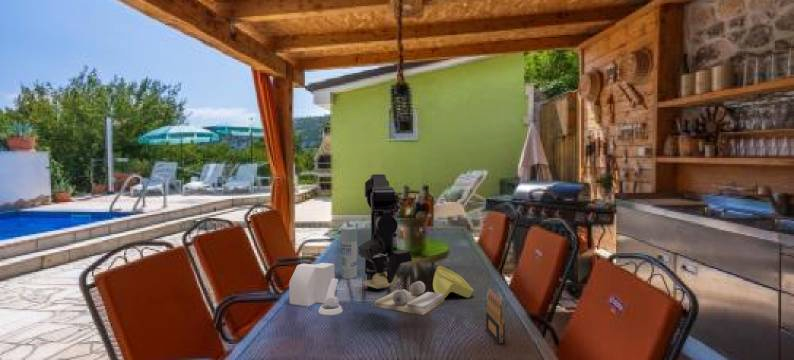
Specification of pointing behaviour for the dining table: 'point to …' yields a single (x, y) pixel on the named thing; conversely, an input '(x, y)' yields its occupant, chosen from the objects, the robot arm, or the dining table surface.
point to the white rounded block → (310, 283)
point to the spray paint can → (349, 252)
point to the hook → (331, 301)
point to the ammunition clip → (495, 318)
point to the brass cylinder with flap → (380, 281)
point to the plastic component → (450, 283)
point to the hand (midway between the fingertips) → (384, 281)
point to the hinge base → (411, 300)
